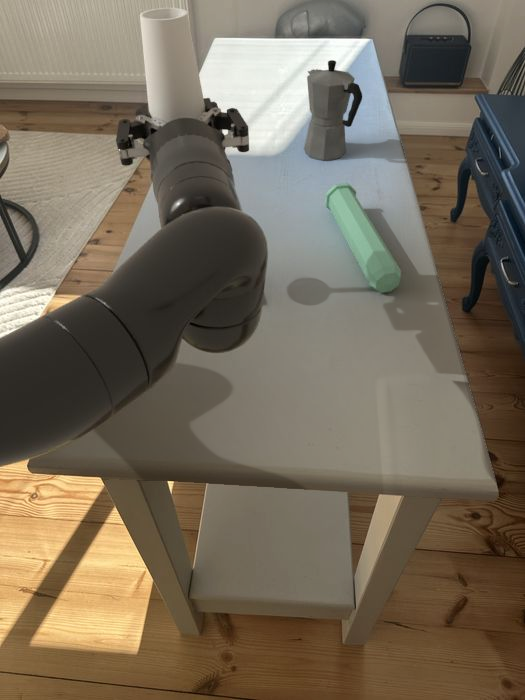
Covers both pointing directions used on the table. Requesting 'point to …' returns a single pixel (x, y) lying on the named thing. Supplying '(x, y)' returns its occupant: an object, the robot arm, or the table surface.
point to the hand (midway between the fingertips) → (176, 109)
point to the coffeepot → (330, 111)
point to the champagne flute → (170, 65)
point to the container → (363, 238)
